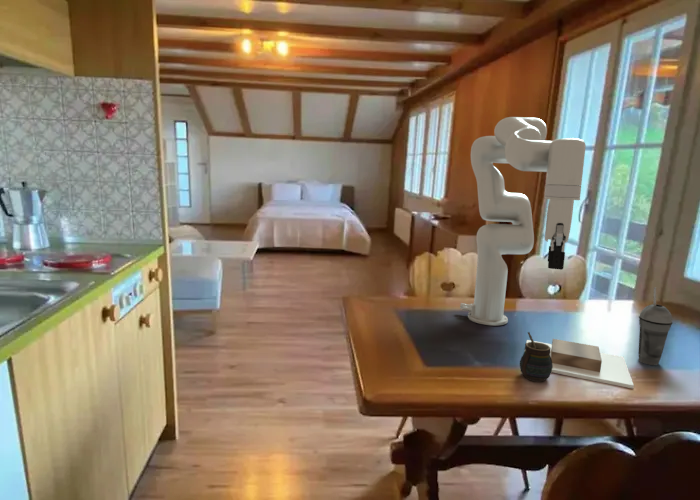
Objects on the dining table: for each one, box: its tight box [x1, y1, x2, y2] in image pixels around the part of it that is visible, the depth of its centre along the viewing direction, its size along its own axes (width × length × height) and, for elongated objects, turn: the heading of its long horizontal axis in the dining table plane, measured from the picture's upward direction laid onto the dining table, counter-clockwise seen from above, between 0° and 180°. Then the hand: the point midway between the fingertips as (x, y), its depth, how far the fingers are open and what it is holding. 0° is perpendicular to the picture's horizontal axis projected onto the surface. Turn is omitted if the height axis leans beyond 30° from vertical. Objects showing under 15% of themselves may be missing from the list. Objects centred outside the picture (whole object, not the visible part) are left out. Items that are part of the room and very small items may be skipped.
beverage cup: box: [638, 287, 673, 366], centre depth 116 cm, size 7×7×20 cm
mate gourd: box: [519, 331, 553, 383], centre depth 105 cm, size 7×8×10 cm
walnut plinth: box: [551, 338, 602, 372], centre depth 115 cm, size 11×10×3 cm
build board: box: [525, 339, 635, 389], centre depth 115 cm, size 24×18×1 cm
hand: (555, 265), depth 106 cm, fingers open, 9 cm apart
